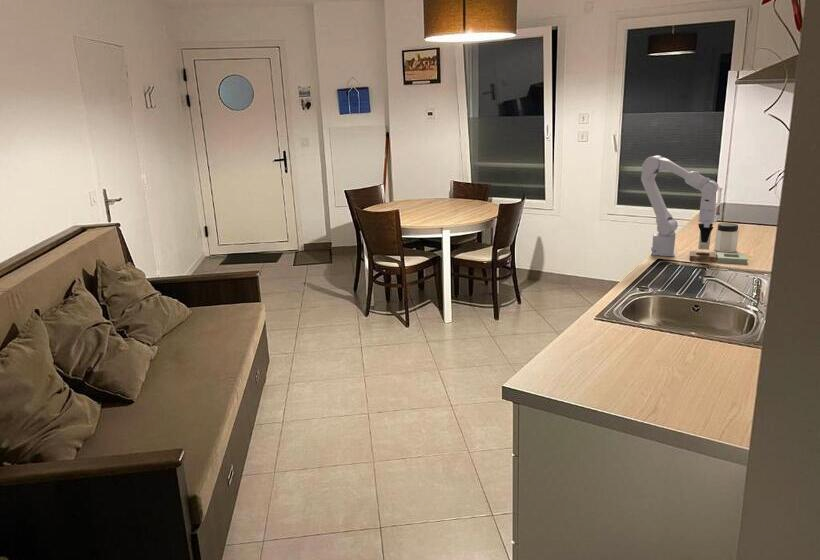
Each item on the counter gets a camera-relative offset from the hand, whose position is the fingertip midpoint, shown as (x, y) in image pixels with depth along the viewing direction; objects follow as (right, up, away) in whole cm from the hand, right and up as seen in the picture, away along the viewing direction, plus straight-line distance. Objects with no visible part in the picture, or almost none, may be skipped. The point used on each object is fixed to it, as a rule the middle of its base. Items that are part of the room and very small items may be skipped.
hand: (704, 241), depth 261 cm
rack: (+10, -8, -2) cm, 13 cm away
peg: (0, -3, +1) cm, 3 cm away
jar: (+17, -3, +15) cm, 23 cm away
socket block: (0, -7, +2) cm, 8 cm away
